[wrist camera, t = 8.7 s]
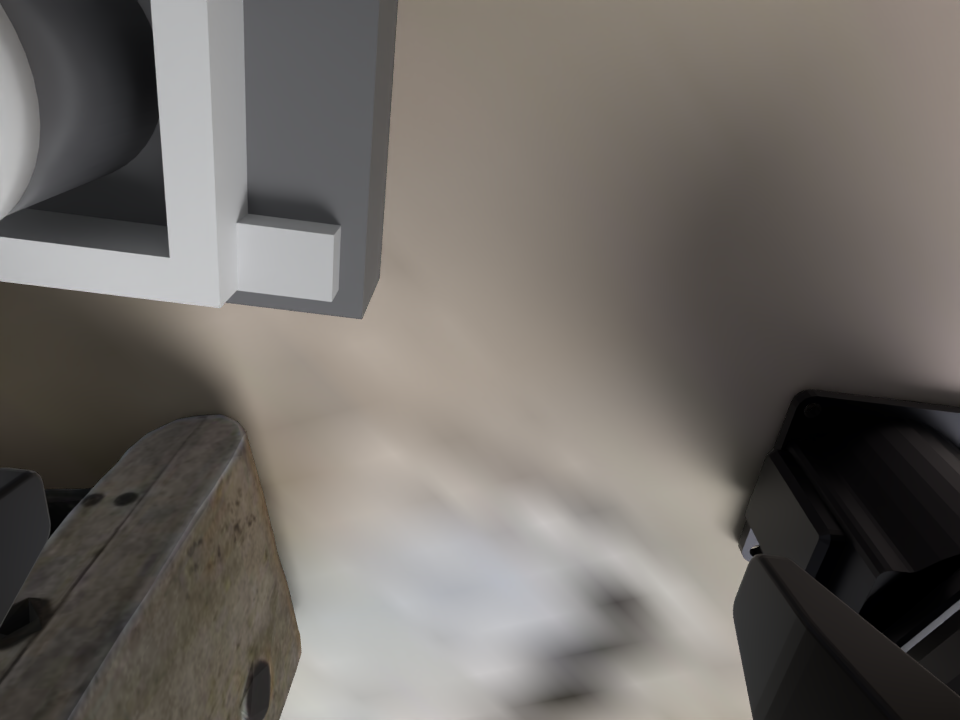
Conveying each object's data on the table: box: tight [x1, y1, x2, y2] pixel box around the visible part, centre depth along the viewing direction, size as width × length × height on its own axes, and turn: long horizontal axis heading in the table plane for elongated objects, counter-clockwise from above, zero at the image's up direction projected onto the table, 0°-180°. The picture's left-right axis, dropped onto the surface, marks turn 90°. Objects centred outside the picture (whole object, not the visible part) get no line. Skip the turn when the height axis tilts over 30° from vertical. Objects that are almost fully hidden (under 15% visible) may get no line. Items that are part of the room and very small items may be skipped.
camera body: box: [0, 0, 398, 319], centre depth 15 cm, size 14×10×5 cm
